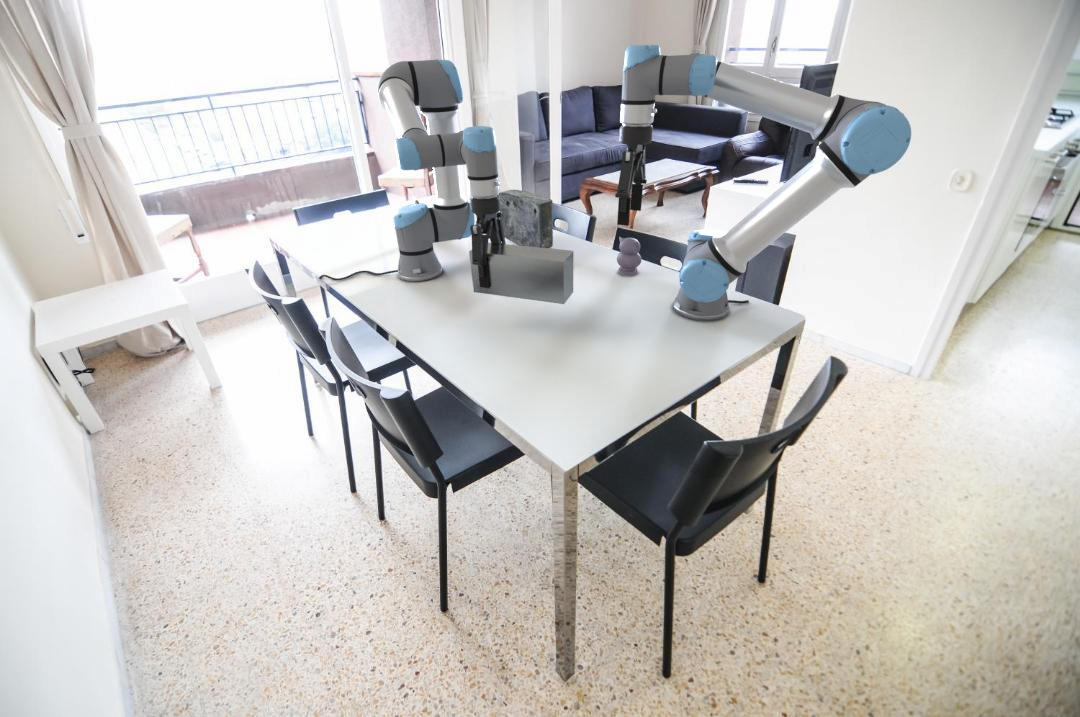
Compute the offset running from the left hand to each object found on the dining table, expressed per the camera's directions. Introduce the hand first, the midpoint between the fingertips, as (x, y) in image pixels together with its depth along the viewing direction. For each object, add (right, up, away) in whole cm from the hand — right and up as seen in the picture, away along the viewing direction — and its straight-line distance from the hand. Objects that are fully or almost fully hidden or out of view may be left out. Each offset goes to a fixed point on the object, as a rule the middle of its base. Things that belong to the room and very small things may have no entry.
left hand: (492, 280), depth 135 cm
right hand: (+36, +14, -10) cm, 40 cm away
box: (+8, -3, -2) cm, 9 cm away
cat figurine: (+43, +8, +35) cm, 57 cm away
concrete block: (+9, +23, +61) cm, 66 cm away
